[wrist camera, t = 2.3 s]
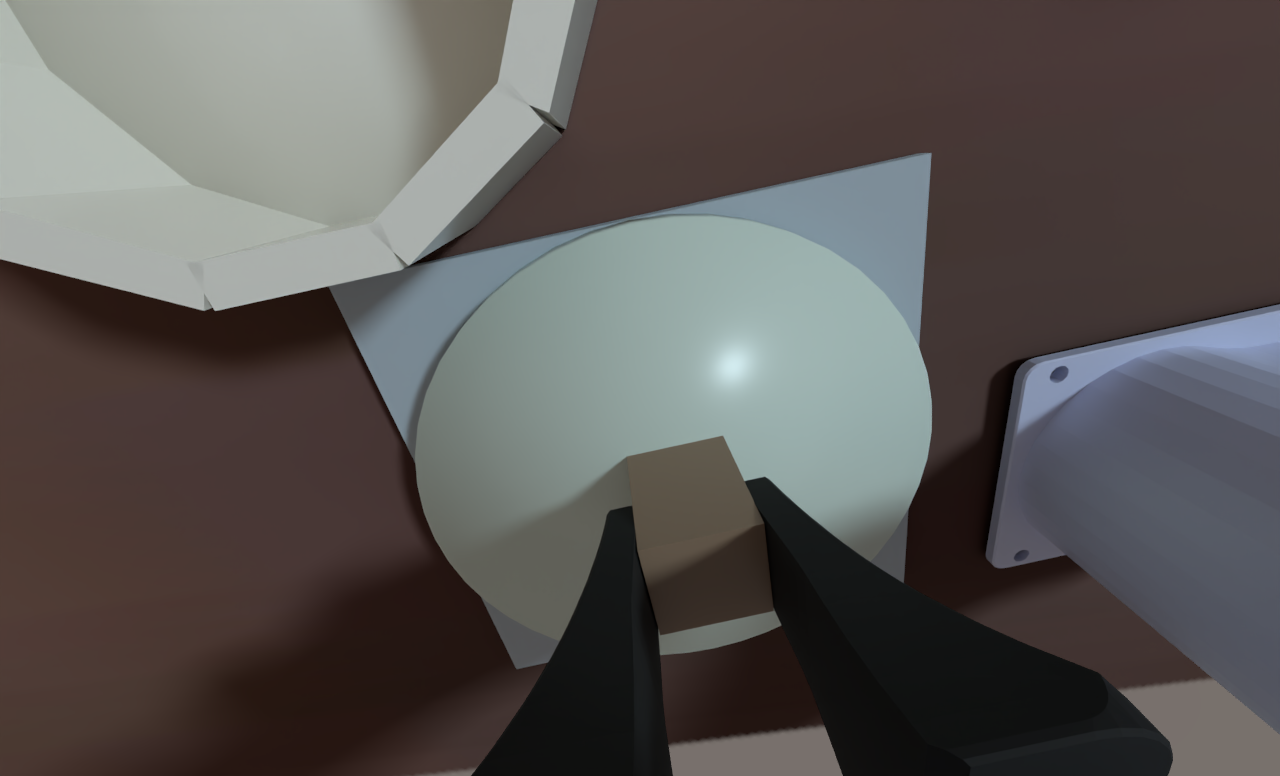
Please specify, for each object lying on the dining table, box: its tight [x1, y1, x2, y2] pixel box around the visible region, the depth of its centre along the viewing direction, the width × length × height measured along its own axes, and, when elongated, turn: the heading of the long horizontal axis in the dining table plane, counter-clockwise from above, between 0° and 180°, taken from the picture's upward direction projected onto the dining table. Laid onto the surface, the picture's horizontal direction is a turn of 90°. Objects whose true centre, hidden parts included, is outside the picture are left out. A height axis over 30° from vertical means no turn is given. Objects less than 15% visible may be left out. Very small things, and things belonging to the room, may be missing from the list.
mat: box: [328, 153, 931, 669], centre depth 14 cm, size 14×14×1 cm
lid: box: [415, 214, 932, 655], centre depth 12 cm, size 14×14×4 cm
